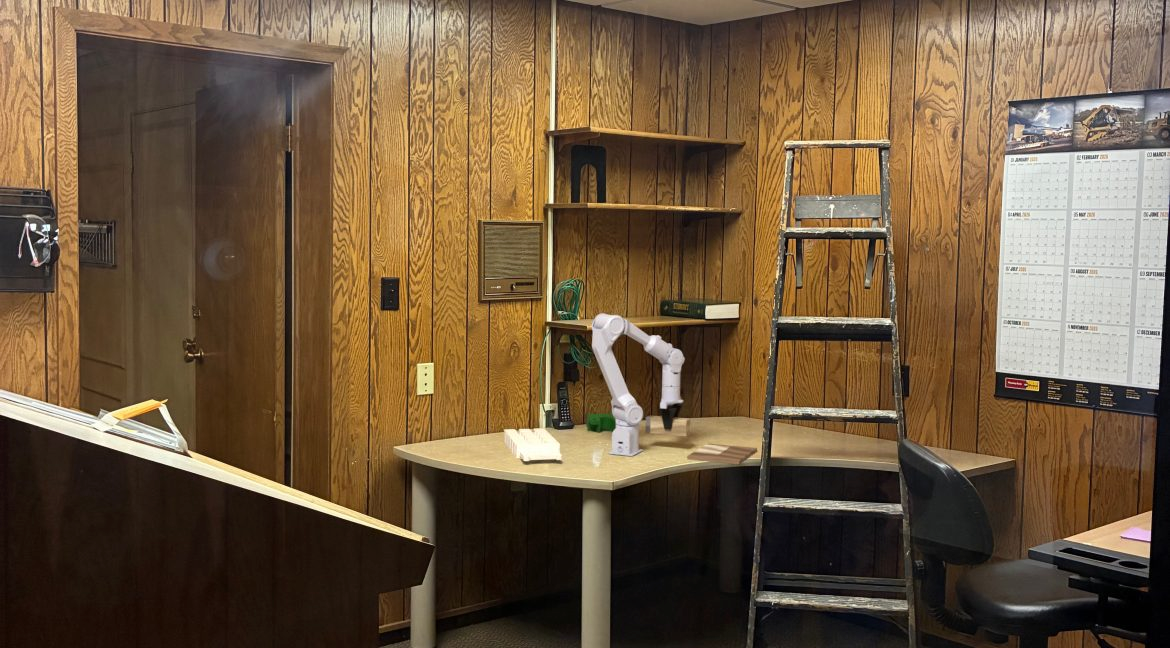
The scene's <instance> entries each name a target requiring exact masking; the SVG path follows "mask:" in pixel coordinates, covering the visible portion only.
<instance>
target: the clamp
mask: <svg viewBox="0 0 1170 648" xmlns="http://www.w3.org/2000/svg"><path fill="white" fill-rule="evenodd" d="M585 425H586V426H585V427H586V428H587V430H588V431H589V432H595V431H596V432H597V433H598V434H599V433H601V431H611V433H613V431H614V430H615V428H616V419H615V418H614V416H613V414H612V412H611V413H587V414H586V424H585Z"/></svg>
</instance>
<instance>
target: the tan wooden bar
mask: <svg viewBox="0 0 1170 648" xmlns="http://www.w3.org/2000/svg"><path fill="white" fill-rule="evenodd" d="M645 434H652V435H653V434H655V435H656V434H657V435H667V436H677V437H678V436H680V437H688V436H690V435H691V418H687V417H678V418H676V417H673V423H672V428H671V430H669V429H664V425H663V420H662V416H661V415H659V416H658V415H648V416H646V417H645Z"/></svg>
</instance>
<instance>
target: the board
mask: <svg viewBox="0 0 1170 648" xmlns="http://www.w3.org/2000/svg"><path fill="white" fill-rule="evenodd" d="M757 452H758V448H757V447H749V446H739V445H728V444H717V443H706V444H704V445H703V446H701V447H699V448H698V449H696V450H694V451H693V452H692V453H690V454H688V455H687V456H686V460H690V461H691V460H692V461H702V462H703V461H704V462H711V463H712V462H713V463H719V464H720V463H723V464H729V465H730V464H731V465H732V464H733V465H740V464H742V463H743V462H744V461H745V460H747V459H748V458H750V457H751V456H752V455H754V454H755V453H757Z"/></svg>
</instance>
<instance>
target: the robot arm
mask: <svg viewBox="0 0 1170 648" xmlns="http://www.w3.org/2000/svg"><path fill="white" fill-rule="evenodd" d="M590 327H591V330H592V338H591V339H592V341H591V348H592V352H593V354H594V355H595V358H596V361H597V364H598V366H599V368H600V370H601V373H602V375H603V378H604V380H605V382H606V385H607V389H608V390H609V393H610V395H611V397H612V398H611V400H610V404H611V413H612V414H613V416H614V418H615V419H616V428H615V430H614V431H613V432H611V433H612V434H611V450H610V451H609V452H608V454H610V455H617V456H618V455H619V456H629V457H634V456H635V455H637V454H639V453H642V452H643V451H644V449H642V448H639V442H640V441H639V439H640V437H639V435H640V432H639V431H640V429H639V428H640V424H641V422H642V420H643V417H644V410H643V407H641V406H640V405H639V404H638V403H637V401H636V399H635V397H633V396H632V394H631V393H630V391H629V390H628V387H627V384H626V382H625V380H624V377H623V375H622V372H621V370H620V367H619V364H618V362H617V359H616V356H615V355H614V351H613V350H612V348H613V346H614V345H613V344H614V343H615V342H616V341H617V339H619V337H620V336H621V335H626V336H628V337H629V338H631V339H633V340H635V341H636V342H638V343H639V344H641V345H643V349H644V352H647V353H648V354H650V355H651V356H653V357H654V358H656V359H657V360H658V361H659V363H660V364H661V365H662V370H661V371H662V374H661V375H662V376H661V378H662V379H661V399H660V403H659V406H657V407H658V408H657V409H658V411H659V415H660V416H662V420H663V425H664V429H669V430H671V428H672V423H673V417H676V418H679V415H680V414H681V411H682V409H683V407H684V406H683V404H682V403H684V400H683V399H682V396H681V371H682V365H683V364H684V363H685V360H686V358H685V357H684V354H683V352H682V351H681V349H678V348H674V347H673V344H671V343H667V342H666V341H665V340H663V339H662V336H660V335H658V334H657V335H655V334H654V335H653V334H652V335H649V334H647V333H646V332H644V331H642V329H640V328H639V327H637V326H636V325H635V324H633V323H632V322H630V321H629V320H628V319H625V318H623V317H622V316H621V315H617V314H607V313H602V312H601V313H599V314H597V315H596V316H595V317H594V320H593V321H592V323H591V326H590Z"/></svg>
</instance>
